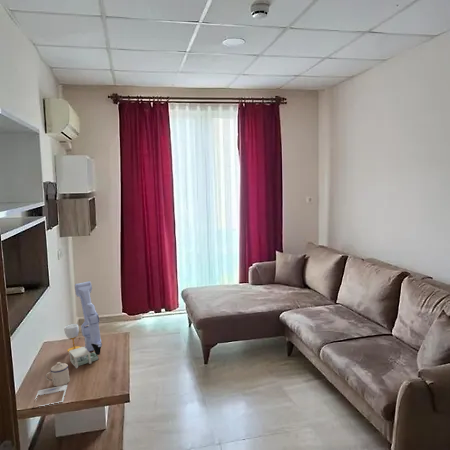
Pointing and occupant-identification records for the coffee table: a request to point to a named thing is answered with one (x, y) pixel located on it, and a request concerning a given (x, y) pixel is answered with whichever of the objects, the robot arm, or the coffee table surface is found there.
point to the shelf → (79, 355)
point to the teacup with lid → (59, 374)
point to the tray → (93, 358)
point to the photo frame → (52, 390)
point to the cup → (72, 334)
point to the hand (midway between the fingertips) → (98, 354)
